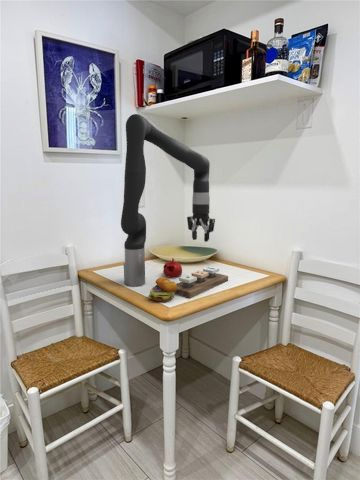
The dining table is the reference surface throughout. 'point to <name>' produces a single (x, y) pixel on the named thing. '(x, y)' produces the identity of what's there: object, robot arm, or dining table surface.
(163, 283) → the cheeseburger
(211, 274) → the key three
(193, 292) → the key board
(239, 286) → the dining table surface
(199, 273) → the key two
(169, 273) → the pomegranate
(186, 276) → the key one
